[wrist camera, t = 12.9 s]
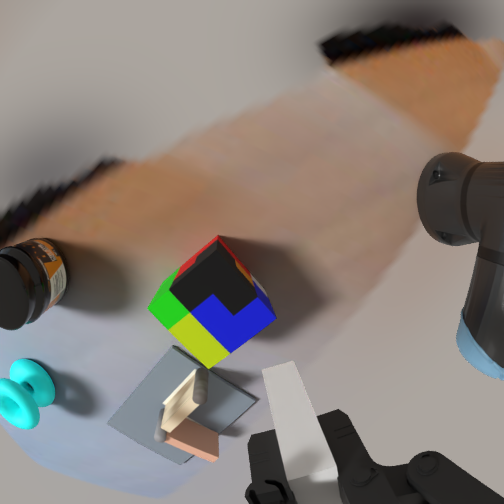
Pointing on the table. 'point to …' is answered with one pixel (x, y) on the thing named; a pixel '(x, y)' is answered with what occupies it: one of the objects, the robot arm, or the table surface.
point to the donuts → (25, 393)
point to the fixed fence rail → (186, 400)
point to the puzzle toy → (212, 304)
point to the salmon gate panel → (190, 438)
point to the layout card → (162, 390)
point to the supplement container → (30, 281)
